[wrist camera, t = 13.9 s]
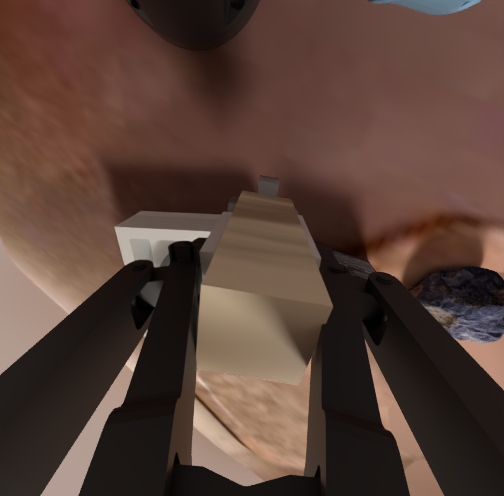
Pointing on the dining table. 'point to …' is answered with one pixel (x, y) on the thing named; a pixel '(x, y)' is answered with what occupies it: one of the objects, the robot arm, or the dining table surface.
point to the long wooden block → (261, 292)
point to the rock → (465, 302)
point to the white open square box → (160, 233)
